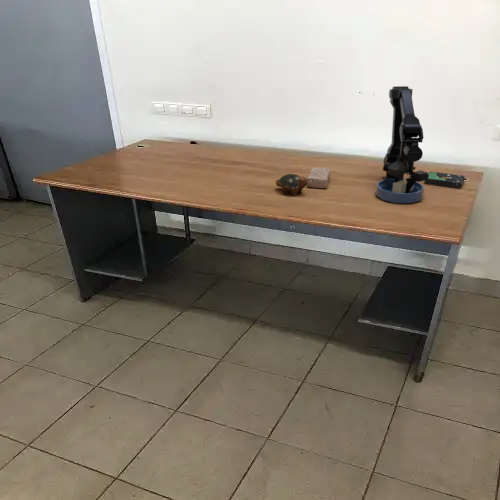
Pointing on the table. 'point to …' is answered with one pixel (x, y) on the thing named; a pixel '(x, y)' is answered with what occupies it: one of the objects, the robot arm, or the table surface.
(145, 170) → the table surface
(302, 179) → the decorative turtle
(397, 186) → the eraser
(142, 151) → the table surface
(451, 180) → the disk drive
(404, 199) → the bowl
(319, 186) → the brick
